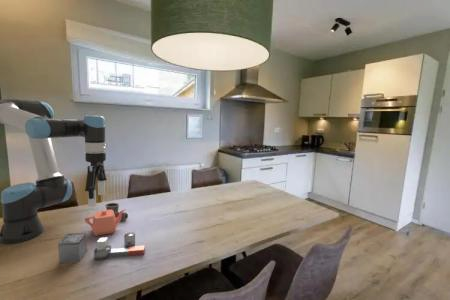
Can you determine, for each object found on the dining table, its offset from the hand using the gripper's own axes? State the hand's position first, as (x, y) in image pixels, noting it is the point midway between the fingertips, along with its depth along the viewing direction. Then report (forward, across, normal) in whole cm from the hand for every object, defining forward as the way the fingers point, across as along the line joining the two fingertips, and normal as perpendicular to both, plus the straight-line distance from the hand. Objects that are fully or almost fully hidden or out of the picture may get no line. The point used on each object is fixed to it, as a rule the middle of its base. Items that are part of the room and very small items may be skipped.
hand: (97, 199), depth 98 cm
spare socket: (+20, -6, -14) cm, 25 cm away
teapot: (+20, +10, -1) cm, 23 cm away
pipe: (+20, +23, -3) cm, 31 cm away
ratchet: (+20, -12, -11) cm, 26 cm away
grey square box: (+20, -10, +6) cm, 23 cm away
